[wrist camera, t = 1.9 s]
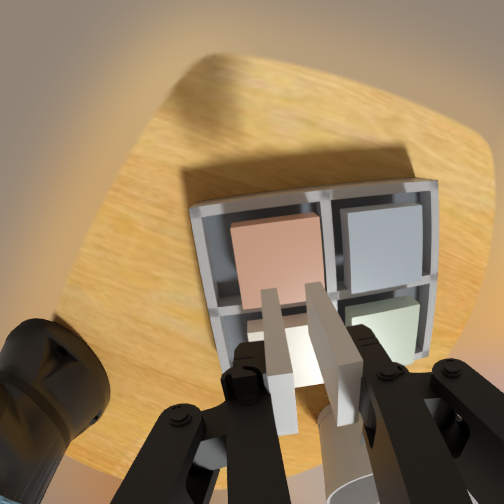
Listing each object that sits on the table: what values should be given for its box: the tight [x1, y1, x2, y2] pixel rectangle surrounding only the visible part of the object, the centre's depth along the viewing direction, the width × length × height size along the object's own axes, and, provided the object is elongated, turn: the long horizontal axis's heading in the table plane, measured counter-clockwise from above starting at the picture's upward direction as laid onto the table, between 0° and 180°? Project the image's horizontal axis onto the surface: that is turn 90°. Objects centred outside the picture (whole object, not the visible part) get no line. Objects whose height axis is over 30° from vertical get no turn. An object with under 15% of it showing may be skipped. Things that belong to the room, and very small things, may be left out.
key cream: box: [247, 313, 324, 388], centre depth 25 cm, size 6×6×2 cm
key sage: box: [345, 295, 420, 366], centre depth 25 cm, size 6×6×2 cm
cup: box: [317, 404, 380, 504], centre depth 28 cm, size 8×8×12 cm
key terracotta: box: [230, 212, 325, 310], centre depth 23 cm, size 6×6×2 cm
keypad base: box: [189, 177, 439, 373], centre depth 27 cm, size 20×17×4 cm
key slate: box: [340, 202, 423, 294], centre depth 23 cm, size 6×6×2 cm
